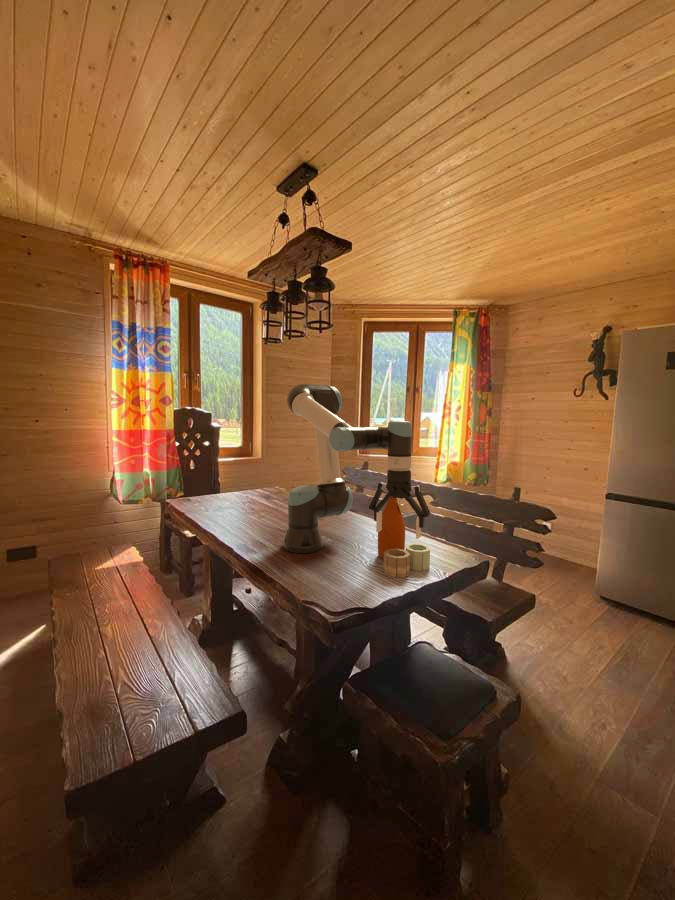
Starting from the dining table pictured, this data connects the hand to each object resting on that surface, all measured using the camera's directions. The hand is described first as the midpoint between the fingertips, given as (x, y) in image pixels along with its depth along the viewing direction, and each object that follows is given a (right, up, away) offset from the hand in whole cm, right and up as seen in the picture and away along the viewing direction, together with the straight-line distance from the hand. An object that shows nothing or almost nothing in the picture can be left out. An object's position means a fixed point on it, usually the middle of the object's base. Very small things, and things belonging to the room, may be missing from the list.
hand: (398, 534), depth 121 cm
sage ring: (+8, -12, +7) cm, 16 cm away
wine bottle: (0, -12, +15) cm, 19 cm away
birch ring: (0, -13, +1) cm, 13 cm away
